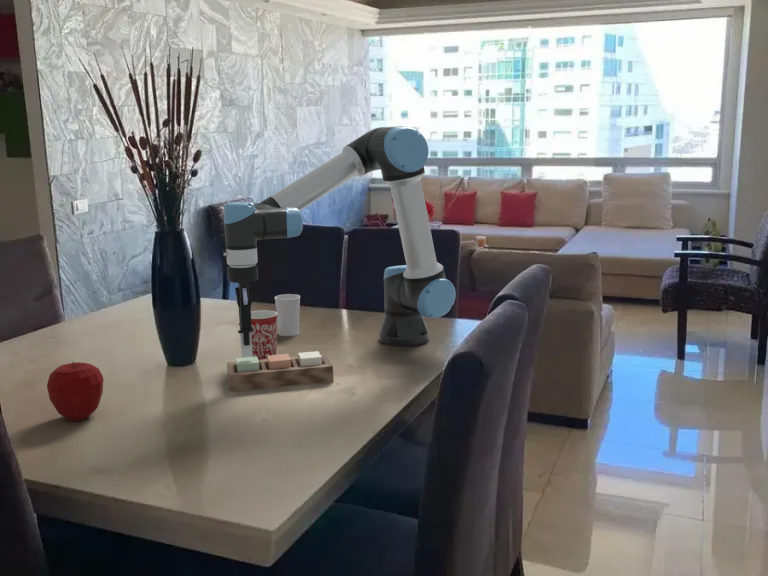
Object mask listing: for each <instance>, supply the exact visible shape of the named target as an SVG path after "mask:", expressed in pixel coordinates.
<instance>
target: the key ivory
mask: <svg viewBox="0 0 768 576" xmlns="http://www.w3.org/2000/svg"><path fill="white" fill-rule="evenodd" d="M320 354H321V353H320V351H318V350H317V351H305V352H298V353H297V356H298V364H299V367H301V366H312V365H322V356H321V355H320Z"/></svg>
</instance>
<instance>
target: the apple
mask: <svg viewBox="0 0 768 576" xmlns="http://www.w3.org/2000/svg"><path fill="white" fill-rule="evenodd" d="M47 380H48V381H47V384H46V387H47V394H48V398H49V401H50V403H51V404H52V405H53V407H54V409H55V410H56V411H57V413H58V414H59V415H60V416H61V417H63V418H65V419H66V420H68V421H70V422H79V421H83V420H85V419H87V418H89V417H90V416H91V415H92V414H93V413H95V411H96V410H97V409H98V408H99V405H100V402H101V399H102V395H103V390H104V376H103V374H102V372H101V370H100V369H99V367H97V366H95V365H93V364H91V363H88V362H74V361H72V362H71V363H66V364H62V365H59V366H57V367H56V368H55V369H54V370H53V371H52V372H51V373H50V374H49V377H48V379H47Z"/></svg>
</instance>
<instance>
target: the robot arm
mask: <svg viewBox="0 0 768 576" xmlns="http://www.w3.org/2000/svg"><path fill="white" fill-rule="evenodd" d="M428 159H429V145H428V142H427V140H426V138H425V137H424V135H423V134H422V133H421V132H420V131H418V129H416V128H414V127H410V126H403V125H398V126H379V127H376V128H373V129H370V130H369V131H367V132H365V133H364V134H362V135H360V136H359V137H358V138H356V139H354V140H352V141H351V142H350V143H348V144H347V145H345V146H343V148H342V151H341V152H340V153H339V154H338V155H335V156H333V157H332V158H330V159H329V160H327V161H326V162H324V163H323V164H321V165H319V166H318V167H316V168H314V169H313V170H311V171H309V172H308V173H306V174H305V175H302V176H301V177H299V178H298V179H296V180H295V181H293V182H292V183H289V184H288V185H287V186H285V187H283V188H282V189H280V190H278V191H277V192H275V193H273V194H272V195H270V196H268V197H267V198H265V199H263V200H262V201H260V202H255V203H253V202H251V201H234V202H233V201H232V202H228V203H226V204H225V205H224V207H223V209H224V211H223V212H224V213H223V223H224V224H223V225H224V236H225V251H226V252H223V256H224V257H226V264H227V265H228V266H227V267H226V273H227V275H226V276H227V280H228V282H230V283H233V284H235V283H237V286H236V287H235V288H234V290H235V297H236V304H237V306H238V318H239V322H238V325H239V329H238V330H237V333H238V334H240V335H239V336H240V338H239V340H240V355H241V358H246V357H253V355H252V335H251V332H252V330H253V327H251V312H252V305H253V304H252V302H253V301H252V296H253V288H252V286H249V285H250V283H252V282H256V281H258V280H259V268H258V265H257V264H258V260H259V259H258V245H257V241H258V240H260V241H261V240H271V239H272V240H273V239H290V238H295V237H299V236H300V235H301V233H302V232H303V229H304V219H303V215H302V212H301V211H302V210H304V209H306V208H308V207H309V206H310V205H312V204H313V203H315V202H317V201H318V200H320V199H322V198H323V197H325V196H326V195H328V194H329V193H331V192H333V191H334V190H336V189H337V188H339V187H341V186H342V185H344V184H345V183H347V182H349V181H351V180H352V179H353V178H355V177H359V178H360V177H361V178H362V177H364V176H365V175H367V174H368V173H371V172H373V171H379V170H380V171H381V172H380V173H381V177H382V182H383V183H385V184H386V185H388V186H389V187H390V192H391V196H392V201H393V208H394V212H395V216H396V221H397V225H398V231H399V236H400V239H401V240H400V241H401V244H402V245H401V246H402V249H403V255H404V259H405V264H404V265H403V264H402V265H393V266H388V267H386V268H385V269H384V271H383V272H384V273H383V279H382V280H383V290H384V291H383V293H384V294H383V295H384V296H383V297H384V298H383V300H384V302H383V304H384V305H383V306H384V316H383V318H382V319H383V320H382V323H381V325H380V330H379V332H378V333H379V334H378V335H379V336H378V337H379V338H378V339H379V342H380V343H382V344H385V345H388V346H396V347H411V346H419V345H422V344H426V343H427V342H428V341H429V339H430V338H429V337H430V336H429V333H430V332H429V330H428V327H427V324H426V320H425V318H430V319H431V318H432V319H438V318H441V317H443V316H445V315H446V314H448V312H450V311H451V309H452V306H453V305H454V303H455V300H456V293H457V292H456V287H455V286H454V284H453V282H451V281H450V280H449V279H447V278H446V273H445V269H444V266H443V264H441V263H439V262H438V260H437V256H436V251H435V247H434V246H435V245H434V241H433V237H432V230H431V225H430V220H429V214H428V209H427V204H426V199H425V195H424V189H423V184H422V178H423V177H424V175H425V174H426V171H425V165H426V162H427V160H428ZM424 317H425V318H424Z"/></svg>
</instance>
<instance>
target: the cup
mask: <svg viewBox="0 0 768 576" xmlns="http://www.w3.org/2000/svg"><path fill="white" fill-rule="evenodd" d="M274 302H275V310H276V311H275V312H277V313H278V315H277V329H278V335H279V336H281V337H294V336H297V335H299V334H300V310H301V309H300V308H301V307H300V306H301V295H299V294H296V293H295V294H294V293H293V294H292V293H291V294H290V293H287V294H286V293H285V294H279V295H276V296H274Z"/></svg>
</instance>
